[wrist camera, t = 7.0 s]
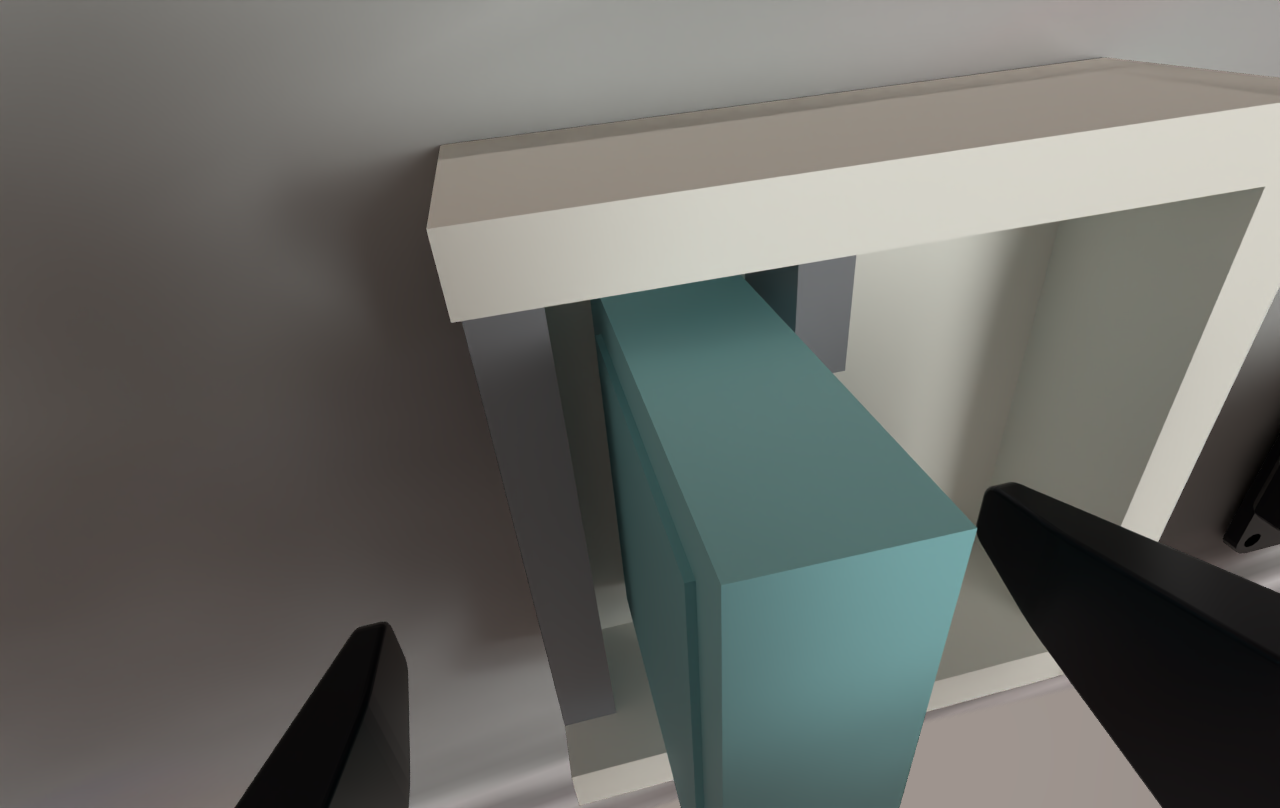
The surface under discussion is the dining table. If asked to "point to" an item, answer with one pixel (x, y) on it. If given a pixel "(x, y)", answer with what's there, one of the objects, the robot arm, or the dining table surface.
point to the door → (770, 554)
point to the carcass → (875, 315)
